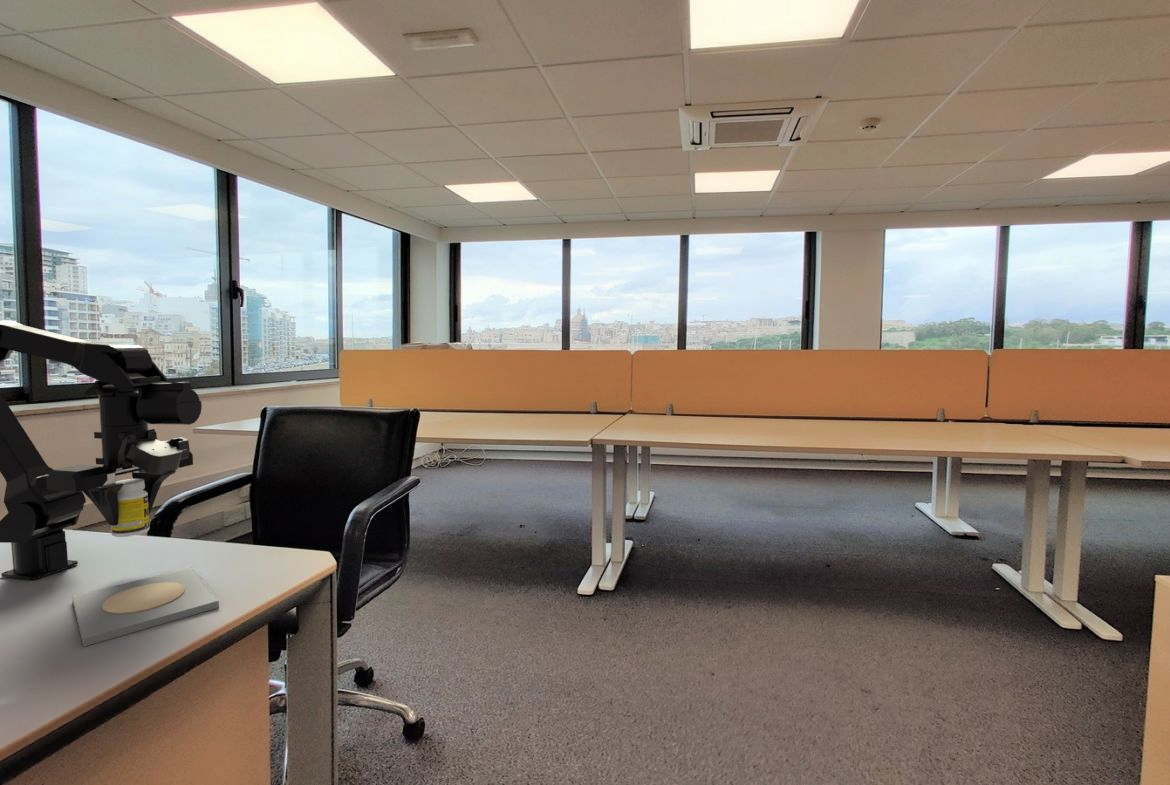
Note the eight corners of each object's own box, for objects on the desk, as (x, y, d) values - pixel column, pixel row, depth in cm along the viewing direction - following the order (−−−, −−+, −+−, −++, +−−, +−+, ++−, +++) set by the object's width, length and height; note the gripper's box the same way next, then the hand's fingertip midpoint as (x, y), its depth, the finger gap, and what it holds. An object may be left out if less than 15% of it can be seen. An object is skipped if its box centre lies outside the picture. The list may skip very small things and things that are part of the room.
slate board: (72, 602, 76) (72, 593, 76) (192, 573, 86) (192, 565, 86) (83, 646, 65) (82, 636, 65) (218, 607, 76) (218, 598, 75)
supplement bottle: (152, 532, 87) (149, 481, 86) (113, 540, 83) (110, 486, 82) (147, 525, 90) (144, 476, 89) (109, 532, 86) (106, 481, 86)
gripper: (104, 435, 74) (111, 545, 76) (218, 418, 93) (222, 506, 94) (39, 432, 76) (47, 538, 78) (163, 416, 95) (168, 502, 96)
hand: (130, 520), depth 86 cm, fingers closed on supplement bottle, 5 cm apart
